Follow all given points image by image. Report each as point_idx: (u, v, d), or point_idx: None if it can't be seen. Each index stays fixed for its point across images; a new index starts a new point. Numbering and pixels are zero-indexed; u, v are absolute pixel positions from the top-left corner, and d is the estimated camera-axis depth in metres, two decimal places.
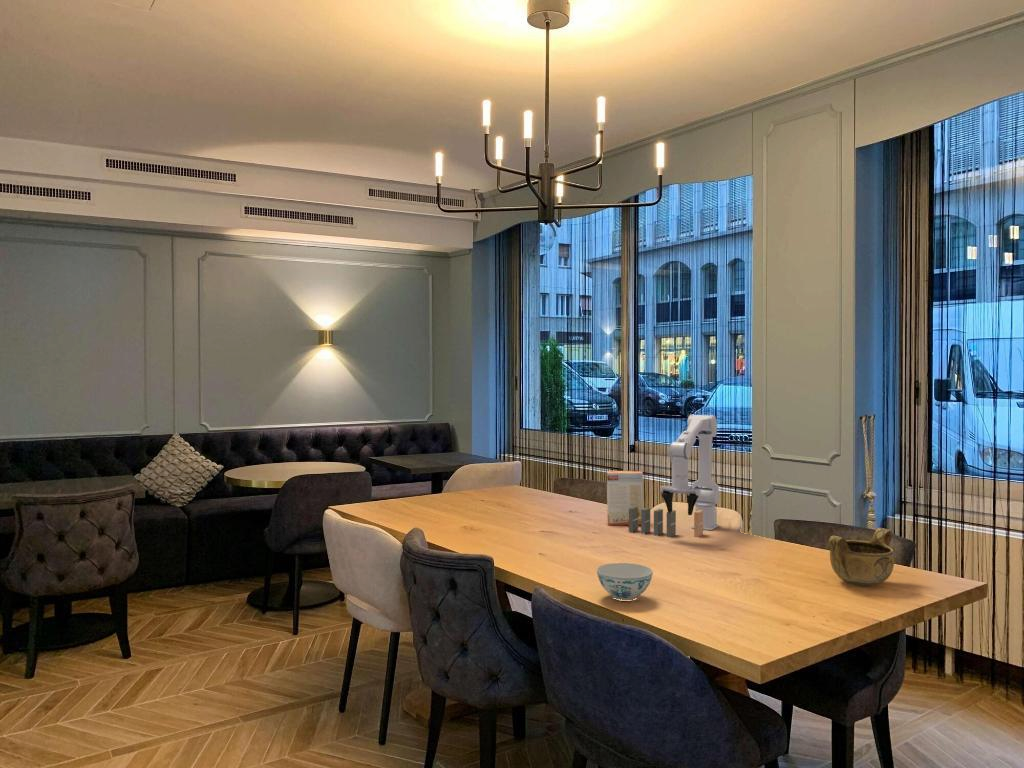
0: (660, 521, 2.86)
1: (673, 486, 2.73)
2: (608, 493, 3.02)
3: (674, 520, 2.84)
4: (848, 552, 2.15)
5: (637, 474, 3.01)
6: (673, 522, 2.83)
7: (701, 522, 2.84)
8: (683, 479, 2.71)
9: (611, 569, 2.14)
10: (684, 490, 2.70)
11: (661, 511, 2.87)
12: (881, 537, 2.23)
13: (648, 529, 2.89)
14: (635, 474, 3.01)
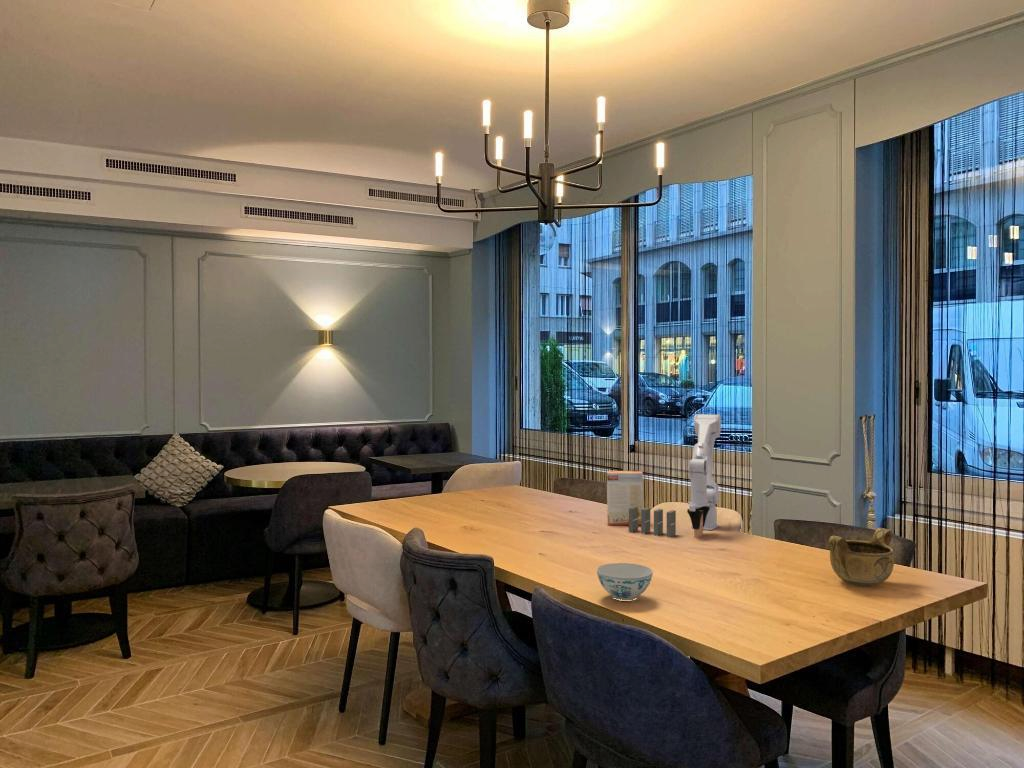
0: (660, 521, 2.86)
1: None
2: (608, 493, 3.02)
3: (674, 520, 2.84)
4: (848, 552, 2.15)
5: (637, 474, 3.01)
6: (673, 522, 2.83)
7: (701, 522, 2.84)
8: (691, 494, 2.83)
9: (611, 569, 2.14)
10: (690, 504, 2.83)
11: (661, 511, 2.87)
12: (881, 537, 2.23)
13: (648, 529, 2.89)
14: (635, 474, 3.01)
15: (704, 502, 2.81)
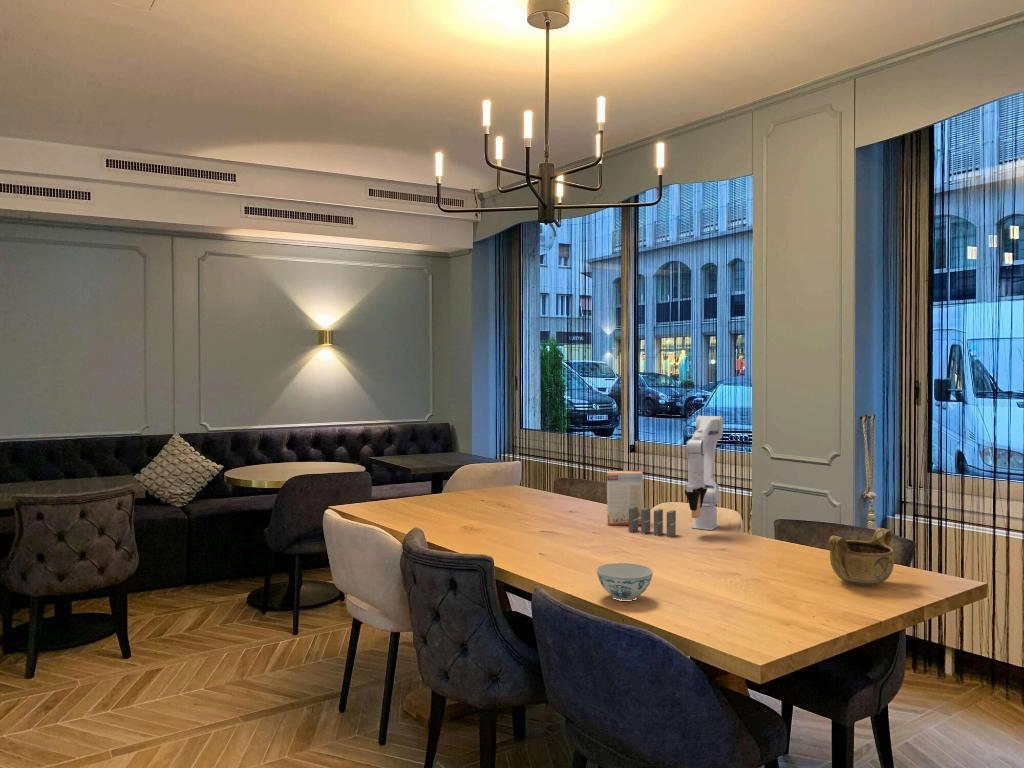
0: (660, 521, 2.86)
1: None
2: (608, 493, 3.02)
3: (674, 520, 2.84)
4: (848, 552, 2.15)
5: (636, 474, 3.01)
6: (673, 522, 2.83)
7: (698, 504, 2.83)
8: (689, 475, 2.82)
9: (611, 569, 2.14)
10: (687, 485, 2.82)
11: (661, 511, 2.87)
12: (881, 537, 2.23)
13: (648, 529, 2.89)
14: (635, 474, 3.01)
15: (701, 483, 2.80)
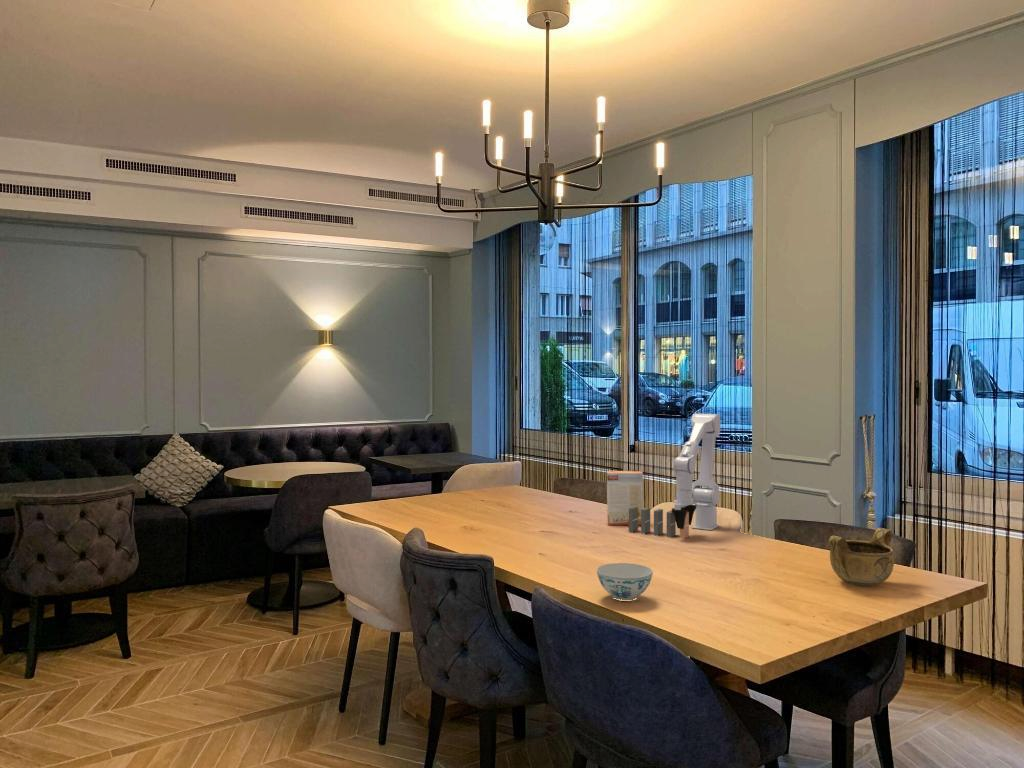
0: (660, 521, 2.86)
1: None
2: (608, 493, 3.02)
3: (674, 520, 2.84)
4: (848, 552, 2.15)
5: (637, 474, 3.01)
6: (673, 522, 2.83)
7: (687, 524, 2.81)
8: (677, 492, 2.80)
9: (611, 569, 2.14)
10: None
11: (661, 511, 2.87)
12: (881, 537, 2.23)
13: (648, 529, 2.89)
14: (635, 474, 3.01)
15: (690, 501, 2.78)
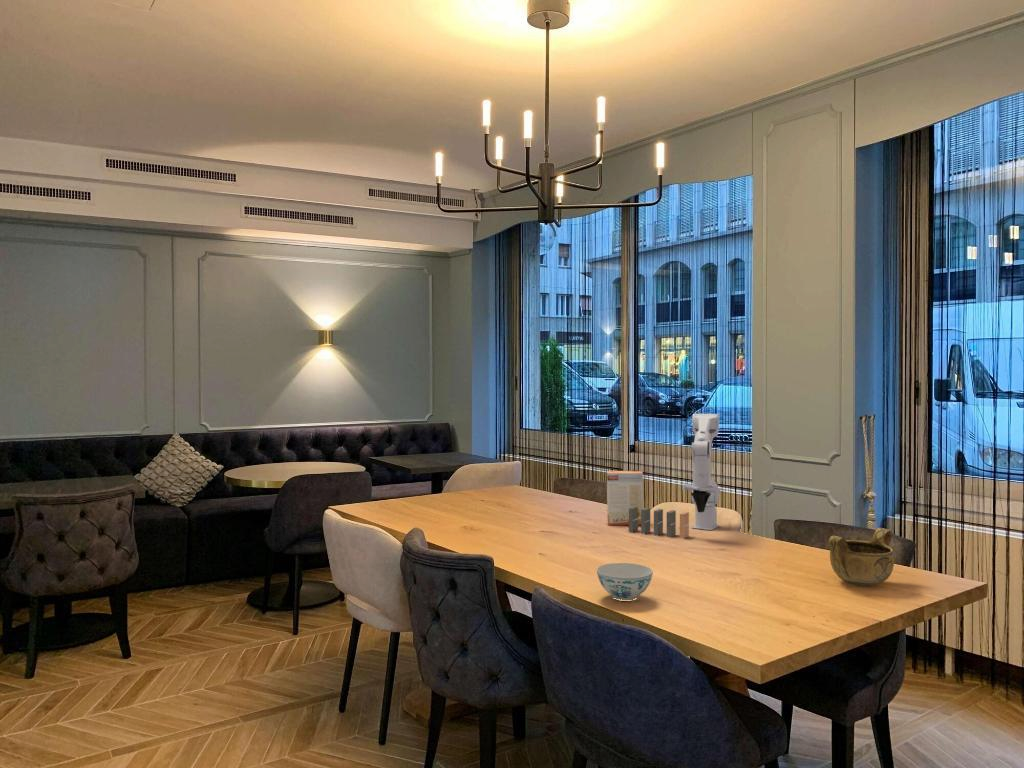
0: (660, 521, 2.86)
1: (693, 484, 2.77)
2: (608, 493, 3.02)
3: (674, 520, 2.84)
4: (848, 552, 2.15)
5: (637, 474, 3.01)
6: (673, 522, 2.83)
7: (687, 524, 2.81)
8: (703, 478, 2.74)
9: (610, 569, 2.14)
10: (704, 489, 2.74)
11: (661, 511, 2.87)
12: (881, 537, 2.23)
13: (648, 529, 2.89)
14: (635, 474, 3.01)
15: None
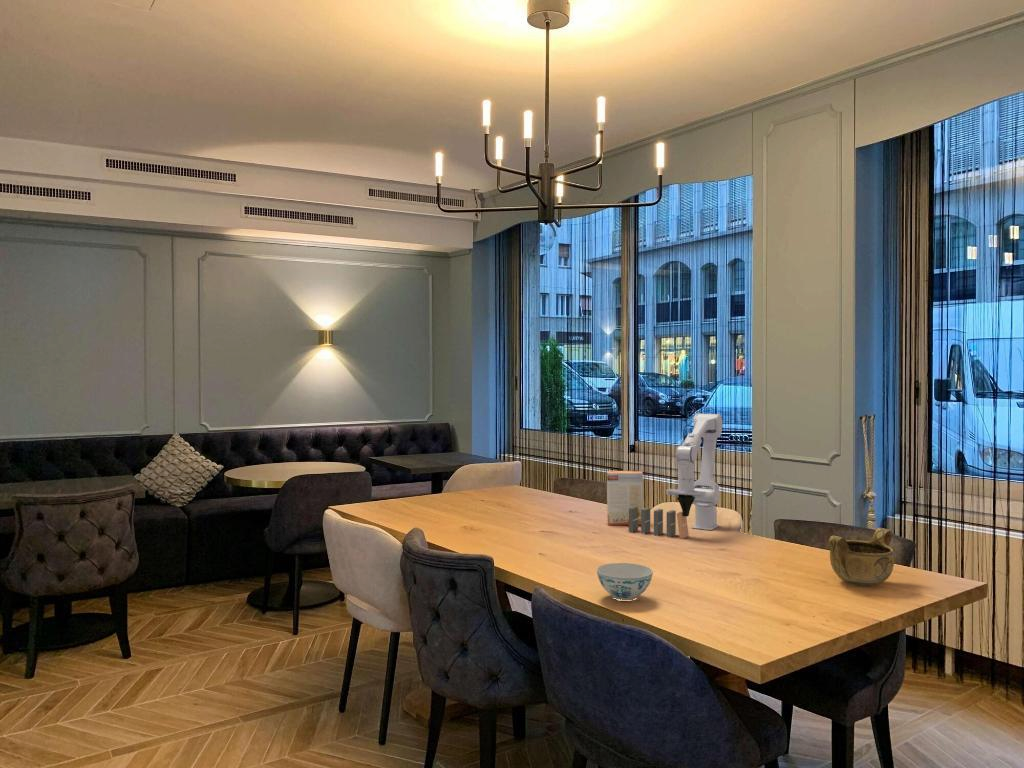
0: (660, 521, 2.86)
1: (680, 489, 2.79)
2: (608, 493, 3.02)
3: (674, 520, 2.84)
4: (848, 552, 2.15)
5: (636, 474, 3.01)
6: (673, 522, 2.83)
7: (685, 523, 2.82)
8: (689, 482, 2.77)
9: (611, 569, 2.14)
10: (691, 493, 2.77)
11: (661, 511, 2.87)
12: (881, 537, 2.23)
13: (648, 529, 2.89)
14: (635, 474, 3.01)
15: None
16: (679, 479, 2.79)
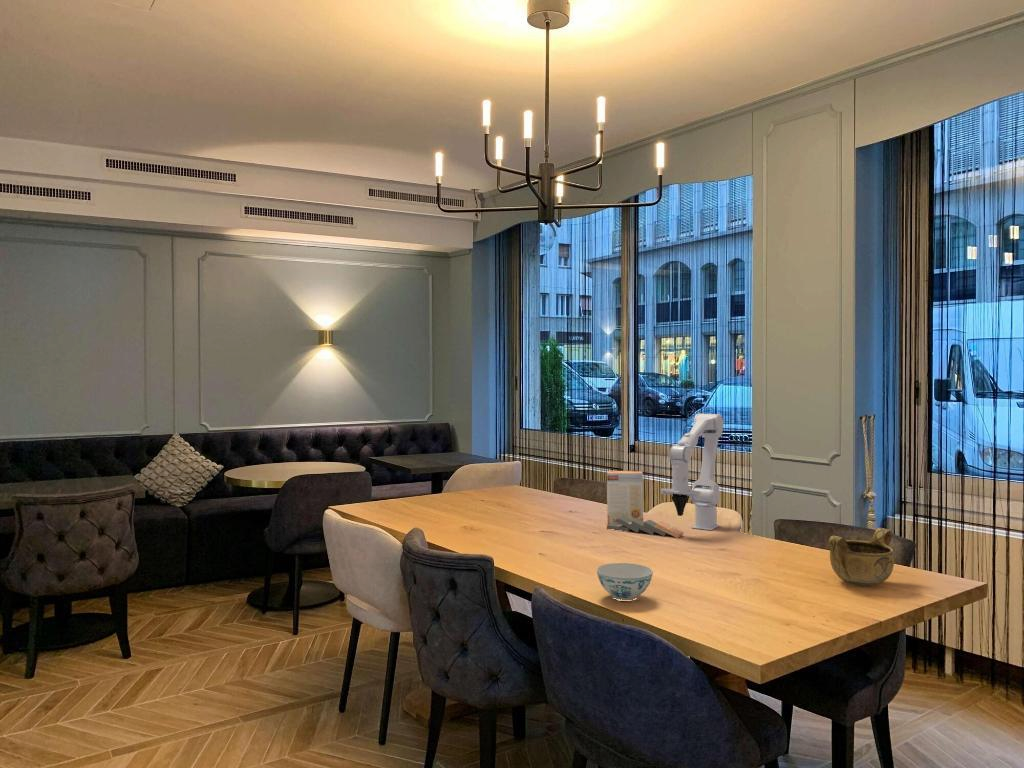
0: None
1: (674, 488, 2.80)
2: (608, 493, 3.02)
3: None
4: (848, 552, 2.15)
5: (636, 474, 3.01)
6: None
7: (670, 526, 2.85)
8: (684, 482, 2.79)
9: (611, 569, 2.14)
10: (685, 492, 2.78)
11: (637, 520, 2.92)
12: (881, 537, 2.23)
13: None
14: (635, 474, 3.01)
15: None
16: (673, 479, 2.80)
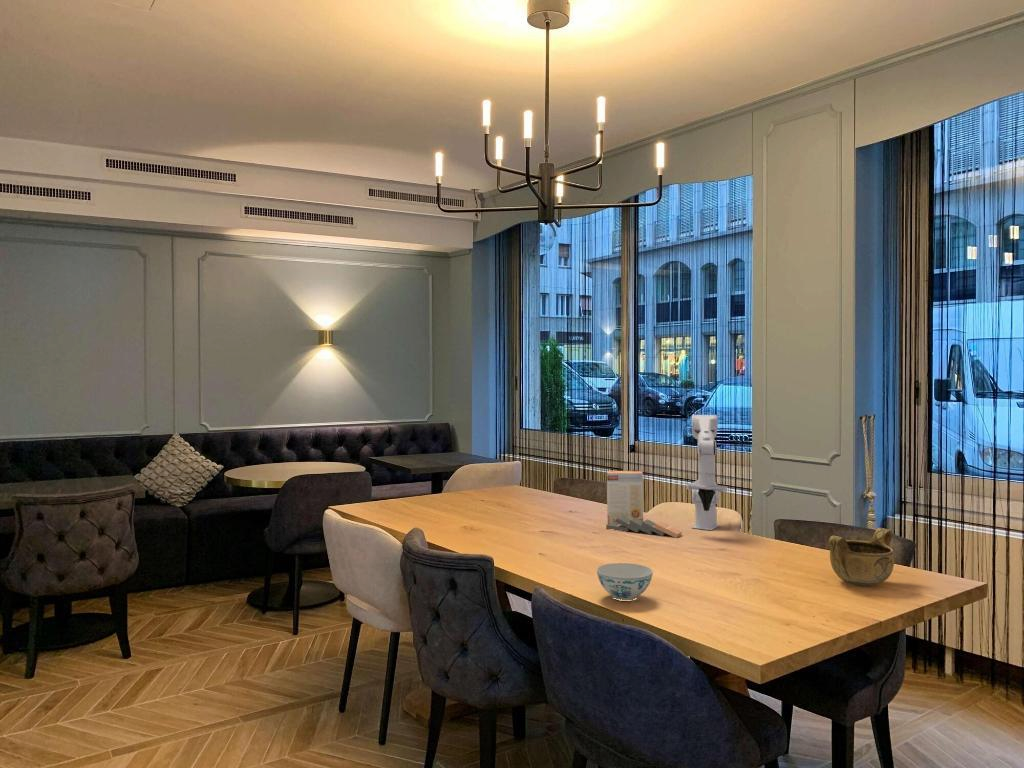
0: None
1: (700, 483, 2.79)
2: (608, 493, 3.02)
3: (654, 524, 2.89)
4: (848, 552, 2.15)
5: (636, 474, 3.01)
6: (654, 525, 2.87)
7: (669, 526, 2.85)
8: (710, 477, 2.77)
9: (611, 569, 2.14)
10: (711, 487, 2.77)
11: (635, 519, 2.93)
12: (881, 537, 2.23)
13: None
14: (635, 474, 3.01)
15: None
16: (700, 473, 2.79)
